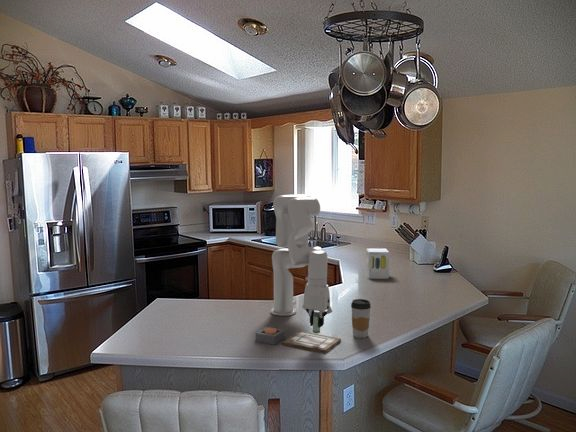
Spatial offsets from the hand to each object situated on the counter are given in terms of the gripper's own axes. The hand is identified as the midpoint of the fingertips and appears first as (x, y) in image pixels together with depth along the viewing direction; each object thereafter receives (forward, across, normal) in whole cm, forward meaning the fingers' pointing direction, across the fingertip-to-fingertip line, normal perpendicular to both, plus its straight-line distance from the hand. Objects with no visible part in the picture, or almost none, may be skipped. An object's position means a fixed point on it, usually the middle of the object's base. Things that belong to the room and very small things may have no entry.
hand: (316, 325), depth 200 cm
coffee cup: (+8, +12, +19) cm, 24 cm away
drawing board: (+8, -2, +1) cm, 9 cm away
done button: (+6, -19, -4) cm, 21 cm away
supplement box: (+11, -19, +128) cm, 130 cm away
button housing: (+8, -19, -4) cm, 22 cm away
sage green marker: (+3, 0, 0) cm, 3 cm away
